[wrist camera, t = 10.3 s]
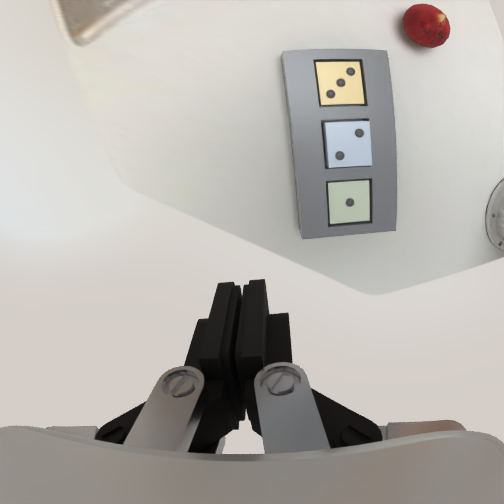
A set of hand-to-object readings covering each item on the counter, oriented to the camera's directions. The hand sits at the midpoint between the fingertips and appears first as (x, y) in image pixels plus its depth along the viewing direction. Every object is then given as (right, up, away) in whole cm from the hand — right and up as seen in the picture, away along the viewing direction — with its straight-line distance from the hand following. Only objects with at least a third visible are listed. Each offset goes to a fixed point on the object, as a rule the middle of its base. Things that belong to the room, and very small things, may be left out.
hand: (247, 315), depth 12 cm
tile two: (+11, +15, +22) cm, 29 cm away
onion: (+21, +31, +17) cm, 41 cm away
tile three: (+10, +22, +20) cm, 31 cm away
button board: (+11, +16, +24) cm, 31 cm away
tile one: (+12, +9, +26) cm, 30 cm away
